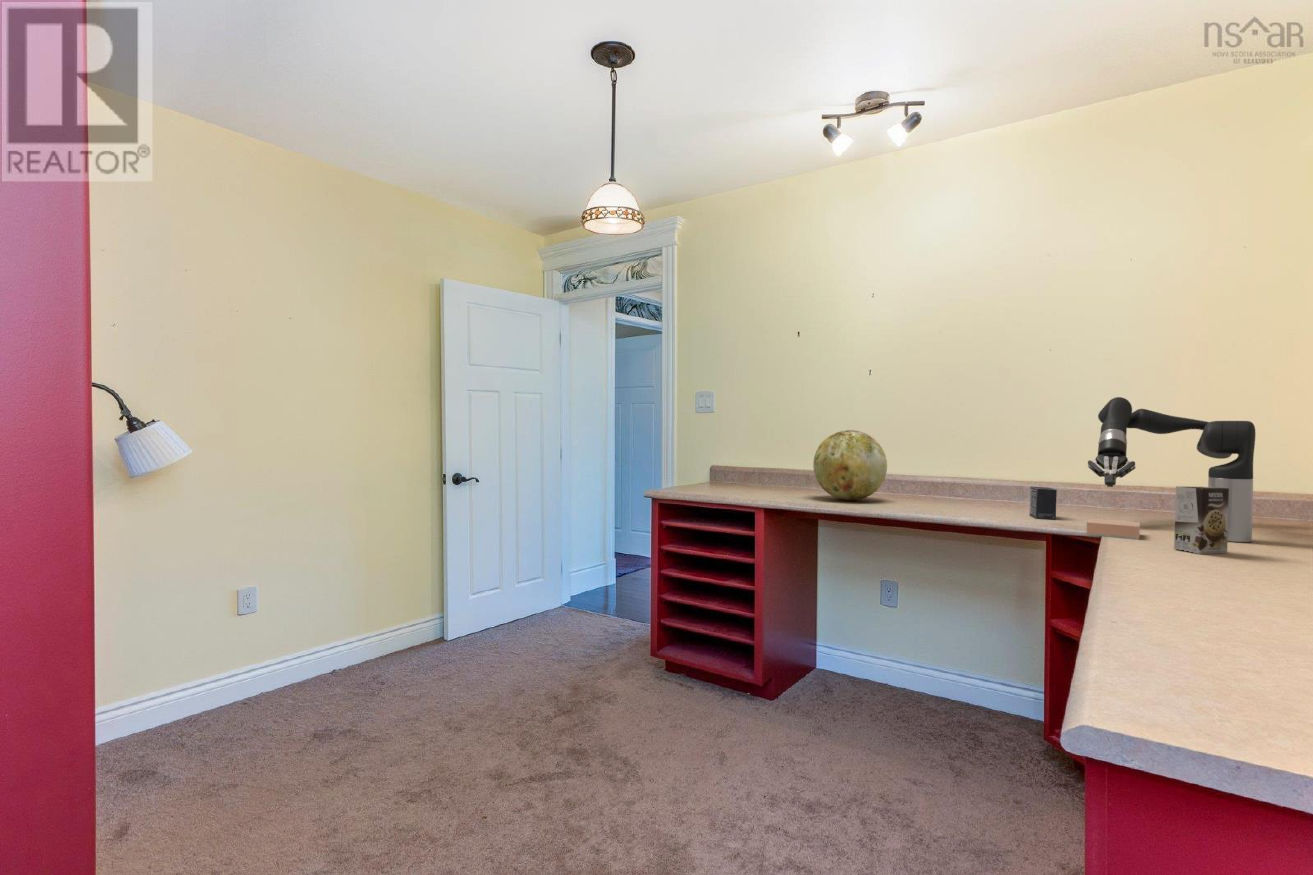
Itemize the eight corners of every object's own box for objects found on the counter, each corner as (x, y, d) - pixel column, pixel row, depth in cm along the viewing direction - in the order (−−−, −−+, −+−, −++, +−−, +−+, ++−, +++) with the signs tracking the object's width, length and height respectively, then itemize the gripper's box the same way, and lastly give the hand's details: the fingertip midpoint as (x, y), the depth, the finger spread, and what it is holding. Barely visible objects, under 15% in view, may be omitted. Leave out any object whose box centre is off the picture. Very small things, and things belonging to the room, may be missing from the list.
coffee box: (1200, 554, 151) (1201, 488, 151) (1172, 549, 157) (1174, 485, 157) (1229, 553, 153) (1230, 487, 153) (1200, 548, 159) (1202, 485, 159)
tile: (1089, 518, 189) (1086, 522, 180) (1139, 522, 182) (1139, 526, 172) (1089, 531, 189) (1086, 536, 180) (1139, 535, 182) (1139, 541, 172)
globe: (800, 500, 265) (801, 429, 264) (831, 495, 287) (832, 430, 287) (869, 506, 245) (870, 430, 245) (897, 500, 267) (898, 431, 267)
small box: (1057, 520, 212) (1058, 489, 212) (1035, 519, 214) (1035, 488, 214) (1049, 516, 221) (1050, 487, 221) (1028, 515, 224) (1029, 486, 224)
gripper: (1138, 454, 203) (1136, 494, 193) (1088, 453, 211) (1085, 491, 202) (1137, 437, 199) (1136, 477, 189) (1087, 437, 207) (1083, 476, 198)
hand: (1109, 485), depth 195 cm, fingers closed
